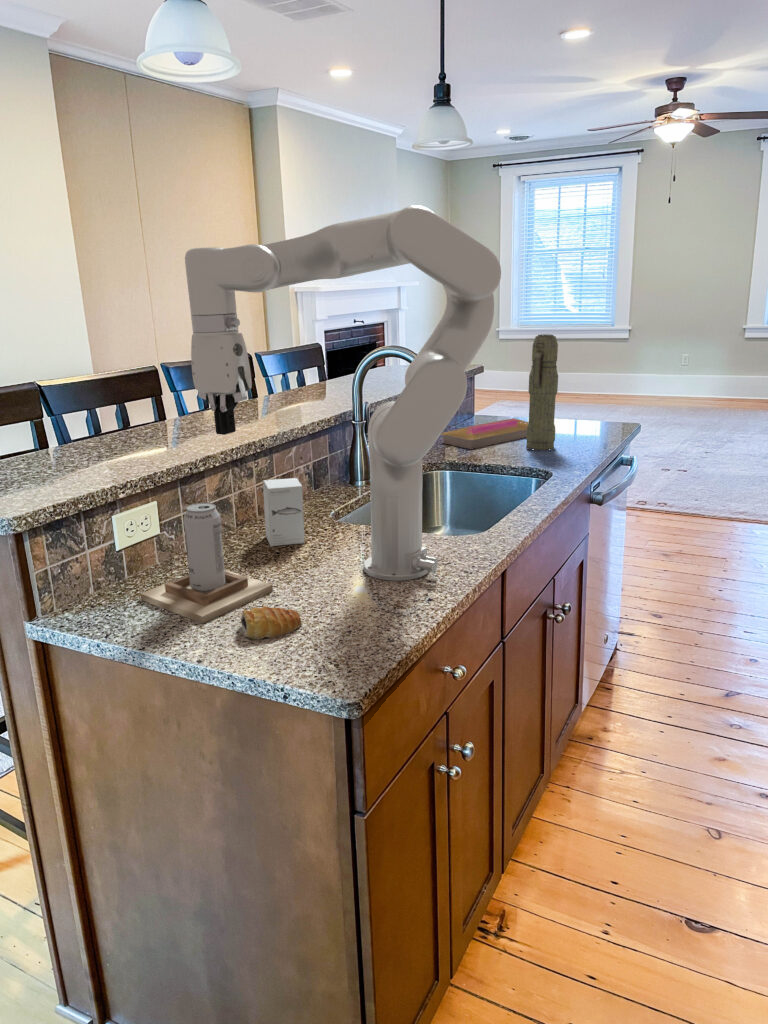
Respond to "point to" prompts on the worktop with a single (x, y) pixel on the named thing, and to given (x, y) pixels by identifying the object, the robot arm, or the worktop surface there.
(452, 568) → the worktop surface
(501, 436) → the pink-striped tan slab
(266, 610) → the pastry
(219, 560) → the energy drink can
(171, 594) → the board
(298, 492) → the supplement box
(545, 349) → the olive stone tall figure
